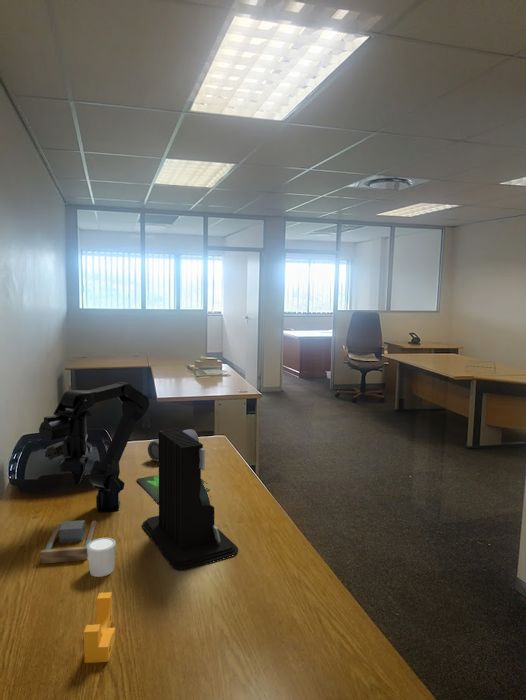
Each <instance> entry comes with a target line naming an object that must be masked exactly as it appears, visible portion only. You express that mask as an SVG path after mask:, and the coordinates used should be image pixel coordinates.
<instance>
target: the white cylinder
mask: <svg viewBox="0 0 526 700" xmlns="http://www.w3.org/2000/svg"><path fill="white" fill-rule="evenodd" d="M87 553H88V557H87V560H88V568H89V573H90V576H92V577H94V578H95V577H98V578H101V577H102V578H103V577H105V576H108V575H110V574H112V573H113V571H114V567H115V555H116V540H115V539H113V538H112V537H100V538H94V539H93V540H92V541H91V542H89V543H88V544H87Z"/></svg>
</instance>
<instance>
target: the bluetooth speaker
mask: <svg viewBox="0 0 526 700" xmlns="http://www.w3.org/2000/svg"><path fill="white" fill-rule="evenodd" d="M182 431H183V432H185V434H187V435H189V436H190V437H192V438H194V439H195V440H197V442H198V441H199V442H200V439H199V436H198V433H197V432H196V430H194V429H191V428H190V429H183V430H182ZM147 454H148V456H149V458H150V459H151V460H152V461H156V462H159V438H157V439H154V440H152V441H151V442H149V443H148V446H147Z"/></svg>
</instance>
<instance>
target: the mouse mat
mask: <svg viewBox="0 0 526 700" xmlns="http://www.w3.org/2000/svg"><path fill="white" fill-rule="evenodd" d="M201 481H202V483H203V484H204V482H205V483H206V484H208V483H207V482H206V481H204V480H203V479H202V478H201ZM136 482H137V483H138V484H139V485H140V486H141V487H142V489H143V490H144V491H145V492H146V493H147V495H149V497H150V498H152V500H154V502H156V504H157V505H159V474H156V475H151V476H145V477H140V478H137V479H136ZM209 491H210V489H208V488H206V492H209Z"/></svg>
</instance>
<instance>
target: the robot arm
mask: <svg viewBox="0 0 526 700" xmlns="http://www.w3.org/2000/svg"><path fill="white" fill-rule="evenodd" d="M116 398H118V400H119V401H120V402H121V404H122V405H121V415H122V416H121V419H120V421H119V423H118V425H117V428H116V430H115V431H114V435H113V436H112V439H111V441H110V443H109V445H108V447H107V448H108V449H107V450H106V452H105V454H104V456H103V458H102V459H101V460H95V461H94V462H93V466H92V468H91V469H90V471H89V473H90V475H89V478H88V479H89V480H90V484H91V485H92V486H93V489H94V490H98V491H97V493H96V496H95V498H96V506H95V508H96V509H97V513H103V512H104V513H106V512H107V513H109V512H118V511H119V510H120V505H121V501H120V493H121V492H122V491H123V490H124V489H125V482H124V481H123V480H122V479H121V478H119V476H120V474H121V473H120V472H121V470H120V469H121V468H120V461H121V459H122V457H123V454H124V451H125V449H126V447H127V445H128V442H129V440H130V438H131V435H132V432H133V430H134V428H135V426H136V424H137V422H138V421H139V420H141V418H142V417H143V416H145V414H146V412H147V410H148V409H149V406H150V400H149V397H148V396H147V395H145V394H143V393H142V392H141V391H140V390H137V389H136V388H134V387H133V385H132V384H130V383H128V382H123V381H122V382H121V381H117V382H116V383H112V384H109V385H103V386H100V387H97V388H92V389H89V390H87V389H86V390H83V389H79V390H78V389H77V390H76V389H75V390H74V389H73V390H72V389H71V390H66V391H65V392H63V395H62V398H61V399H60V402H59V403H58V405H57V407H56V408H55V410H54V412H53V415H52V416H49V415H48V416H44V417H43V421H42V422H41V423H40V425H39V428H38V432H39V436H40V438H41V440H42V441H44V442H45V443H47V442H51V441H56V440H59V439H62V438H64V439H63V440H62V441H58V442H56V443H54V444H51V445H49V446H47V447H46V448H45V450H44V457H45V458H47V459H48V461H49V462H50V461H52V460H54V459H55V458H59V457H62V456H63V457H64V459H63V460H62V461H61V462H60V463H59V472H60V473H61V472H62V473H65V472H69V473H71V475H72V479H73V481H74V485H76V486H77V485H80V483H81V481H82V478H83V475H84V474H85V473H84V472H85V470H86V467H87V464H88V461H89V457H87V456H86V455H87V453H88V454H92V451H93V450H92V448H93V446H92V444H91V443H90V442H87V439H88V436H89V435H88V433H87V418H89V417H92V416H93V413H91V412H90V409H91V408H93V407H94V405H95V404H98V403H102V402H105V401H109V400H112V399H116Z"/></svg>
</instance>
